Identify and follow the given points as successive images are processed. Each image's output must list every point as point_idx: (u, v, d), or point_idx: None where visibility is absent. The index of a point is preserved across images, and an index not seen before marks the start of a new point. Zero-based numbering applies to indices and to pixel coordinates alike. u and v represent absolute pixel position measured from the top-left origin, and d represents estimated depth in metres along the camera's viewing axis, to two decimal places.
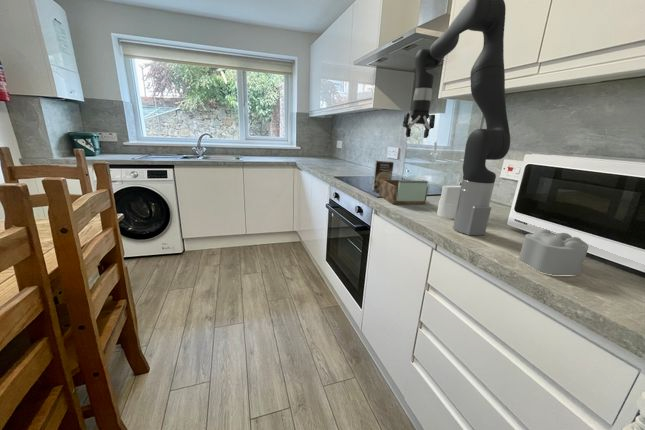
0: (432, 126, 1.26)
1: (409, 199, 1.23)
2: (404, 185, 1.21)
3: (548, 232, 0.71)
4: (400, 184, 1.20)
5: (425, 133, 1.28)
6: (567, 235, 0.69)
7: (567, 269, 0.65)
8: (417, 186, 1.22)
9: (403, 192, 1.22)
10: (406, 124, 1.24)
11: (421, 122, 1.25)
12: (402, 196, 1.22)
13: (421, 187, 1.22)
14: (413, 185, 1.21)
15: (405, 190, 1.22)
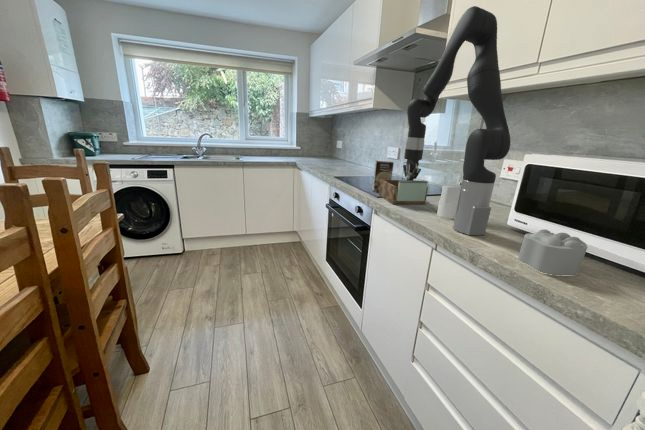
0: None
1: (409, 199, 1.23)
2: (404, 185, 1.21)
3: (547, 232, 0.71)
4: (400, 184, 1.20)
5: None
6: (566, 235, 0.69)
7: (566, 269, 0.65)
8: (417, 186, 1.22)
9: (403, 192, 1.22)
10: None
11: None
12: (402, 196, 1.22)
13: (421, 187, 1.22)
14: (413, 185, 1.21)
15: (405, 190, 1.22)
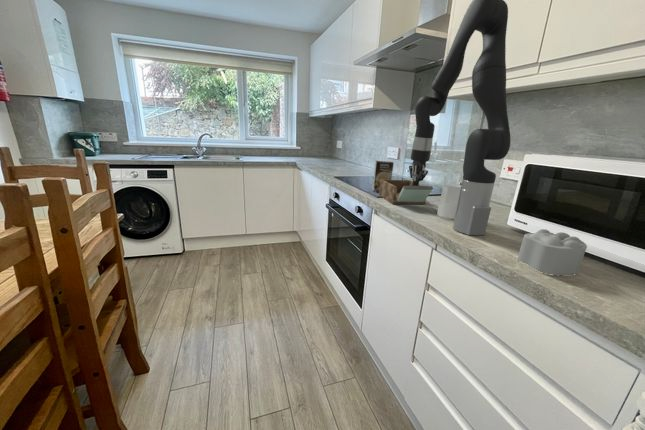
0: None
1: (409, 200, 1.23)
2: (408, 191, 1.18)
3: (546, 232, 0.71)
4: (404, 190, 1.17)
5: None
6: (565, 235, 0.70)
7: (566, 269, 0.65)
8: (421, 191, 1.19)
9: (405, 195, 1.20)
10: None
11: None
12: (403, 198, 1.21)
13: (424, 192, 1.19)
14: (417, 191, 1.18)
15: (407, 194, 1.19)
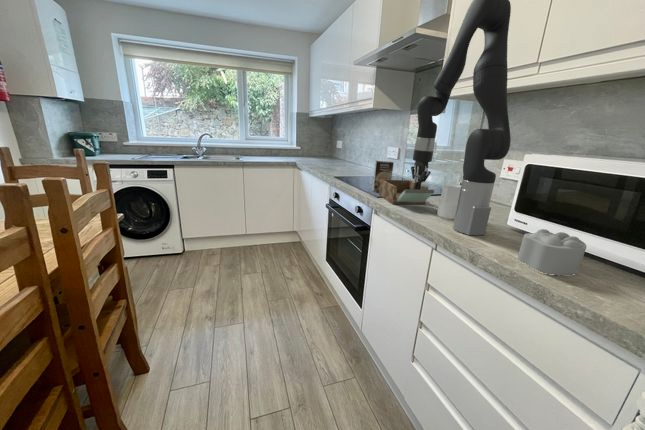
0: None
1: (409, 201, 1.23)
2: (408, 194, 1.17)
3: (546, 232, 0.71)
4: (404, 193, 1.16)
5: None
6: (565, 234, 0.70)
7: (566, 269, 0.65)
8: (421, 194, 1.18)
9: (405, 197, 1.20)
10: None
11: None
12: (403, 199, 1.21)
13: (425, 195, 1.19)
14: (418, 194, 1.17)
15: (408, 196, 1.19)
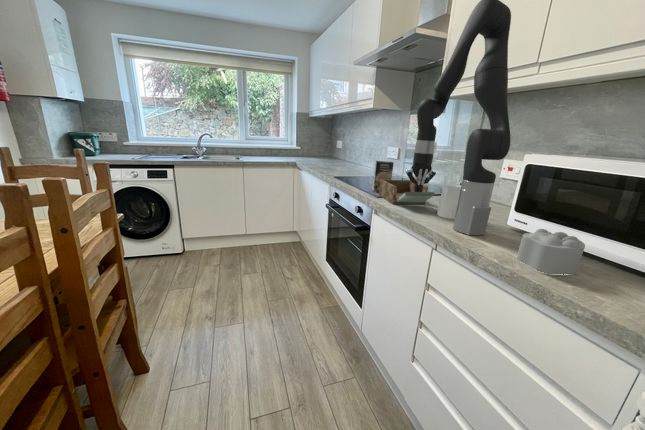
0: None
1: (409, 201, 1.23)
2: (409, 196, 1.17)
3: (545, 231, 0.71)
4: (405, 196, 1.16)
5: None
6: (564, 234, 0.70)
7: (565, 268, 0.65)
8: (422, 196, 1.18)
9: (405, 199, 1.20)
10: None
11: None
12: (403, 200, 1.21)
13: (425, 197, 1.19)
14: (418, 196, 1.17)
15: (408, 198, 1.19)
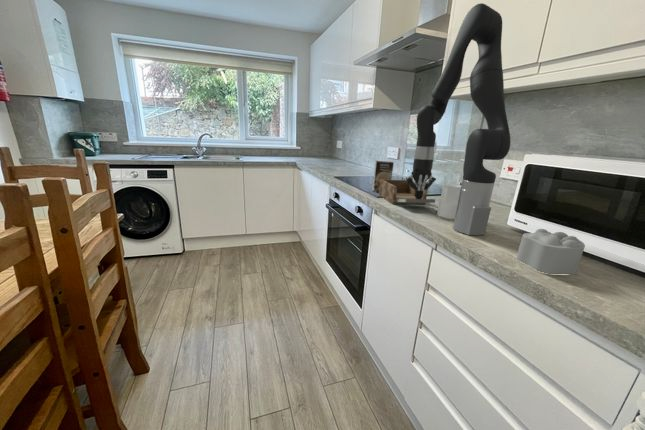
0: None
1: None
2: None
3: (545, 231, 0.71)
4: None
5: None
6: (563, 234, 0.70)
7: (565, 268, 0.66)
8: None
9: None
10: None
11: None
12: None
13: None
14: None
15: None
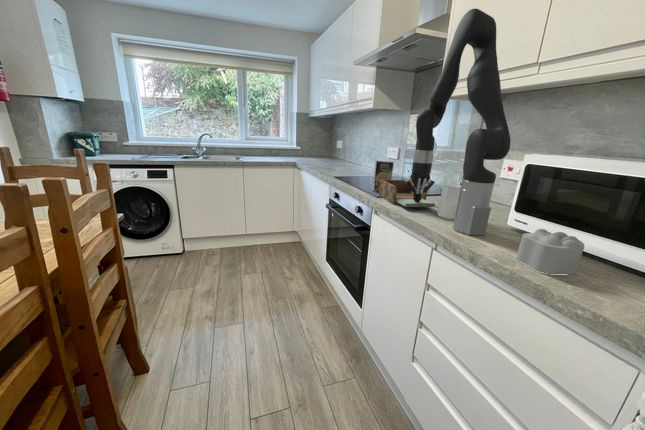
0: None
1: None
2: None
3: (545, 231, 0.71)
4: (405, 205, 1.16)
5: None
6: (563, 234, 0.70)
7: (564, 268, 0.66)
8: None
9: None
10: None
11: None
12: None
13: None
14: None
15: None
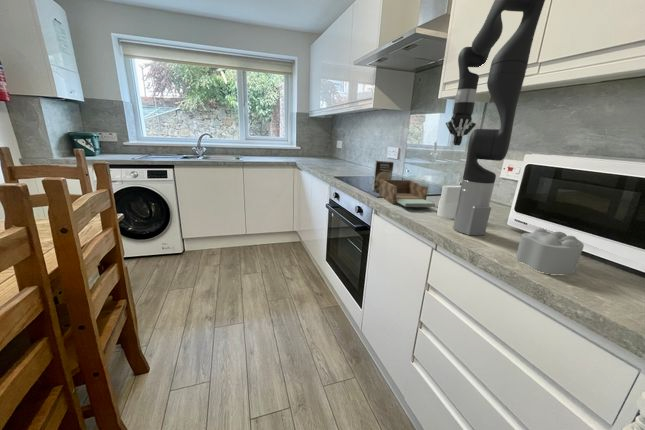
0: None
1: None
2: None
3: (544, 231, 0.71)
4: (405, 205, 1.16)
5: None
6: (562, 234, 0.70)
7: (564, 268, 0.66)
8: None
9: None
10: None
11: None
12: None
13: None
14: None
15: None
